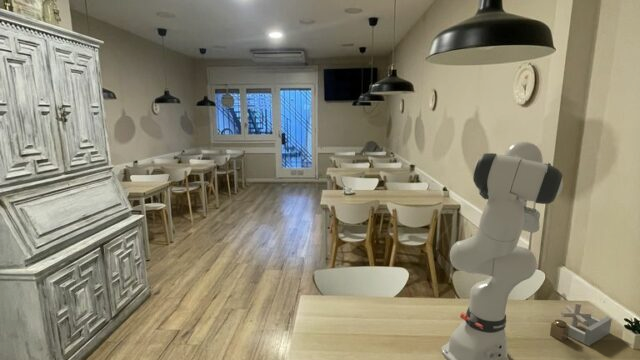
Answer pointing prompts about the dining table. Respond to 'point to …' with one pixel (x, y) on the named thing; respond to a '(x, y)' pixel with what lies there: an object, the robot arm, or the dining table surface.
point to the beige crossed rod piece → (576, 314)
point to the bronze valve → (559, 330)
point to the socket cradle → (591, 330)
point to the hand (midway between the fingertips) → (510, 236)
